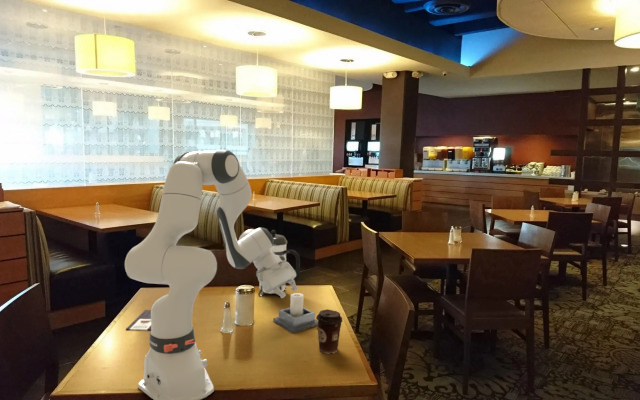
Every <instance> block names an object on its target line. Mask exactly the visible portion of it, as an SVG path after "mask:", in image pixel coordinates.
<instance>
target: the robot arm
mask: <svg viewBox="0 0 640 400" xmlns="http://www.w3.org/2000/svg"><path fill="white" fill-rule="evenodd" d="M213 185H214V187H215V189H216V191H217V194H218V196H219V197H218V198H219V204H218V205H219V206H218V208H217V210H216V217H217V221H218V224H219V228H220V229H219V230H220V232H221V233H220V234H221V235H222V240H223V244H224V248H225V254H226V258H227V261H228V263H229V264H230V265H231V267H233V268H234V269H238V270H244V269H247V268H248V266H250V265H251V264H252V263H253V264H254V267H255V268H256V269H257V270H256V272H255V273H256V274H255V275H256V277H257V280H258V282H259V285H260V284H261V286H262V287H263V289H264V290H265V291H266V292H267V293H266V294H270V293H269V292H271V291H272V290H273V291H274V294H275V295H279V296H280V297H279V296H278V297H279V298H281V299H284V298H285V297H286V296H287V294H286V292H285V291H281V290H280V288H279V287H280V286H282V285H284V284H285V283H287V282H288V283H289V284H288V285H290V287H291V288H290V289H291V290H292V291H293V292H296V291H298V289H299V288H298V286H297V285H296V283H295V281H294V279H295V277H296V269H294V268H293V266H292V265H291V264H290V263H289V261H287V257H286V258H285V257H284V256H279V255H275V254H274V253H273V252H272V251H271V250H270V249H271V248H272V247H273V243H274V238H273V236H272V235H271V231H269V230H268V228H265V227H258V228H255V229H254V228H250V229H247V230H245V231H244V232H242V233H241V234H240V236H239V238H238V239H237V235H236V232H235V223H236V221H237V220H238V217H239V216H240V215H241V214H242V212H244V210H245V209H246V208H247V207H248V205H249V204H250V201H252V200H251V199H252V195H253V193H252V188H251V185H250V182H249V180H248V178H247V175H246V174H245V172H244V170H243V167H242V166H241V165H240V163H239V159H238V158H237V156H236V154H234V153H233V152H232V151H231V150H228V149H223V148H222V149H209V150H207V149H202V150H195V151H191V152H190V151H189V152H187V151H186V152H183V153H181V154H179V155H178V156H176V158H175V159H174V161H173V164H172V165H171V166H170V168H169V169H168V173H167V175H166V178H165V181H164V185H163V188H162V194H161V200H160V204H159V210H158V214H157V217H156V221H155V223H154V225H153V226H152V229H151V231H150V232H149V233H148V235H147V236H146V237H145V238H144V239H143V240H142V241H141V242H140V243H138V244H137V245H135V246H133V247H132V248H131V249H130V250H129V251H128V252H127V254H126V257H125V260H124V269H125V272H126V275H127V277H128V278H129V279H132V280H133V281H134V280H135V281H138V282H142V283H145V284H156V285H168V286H169V292H168V293H167V294H165V295H163V296H161V297H159V298H158V299H156V301H155V302H154V303H153V304H152V306H151V309H150V310H151V331H150V332H149V336H148V338H149V339H148V341H149V350H148V351H147V353H146V354H145V355H144V360H143V361H144V363H143V364H144V365H143V378H142V379H141V380H140V381H139V382H138V385H137V388H138V389H139V390H141V391H142V392H143V393H144V394H146V395H147V396H148V397H150V398H151V399H153V400H203V399H205V398H207V397H208V396H209V395H211V394H212V393H213V392H214V391H215V388H214V387H215V386H214V384H213V382H212V379H211V378H210V376H209V373H208V372H207V369H206V368H207V367H208V365H209V364H208V360H207V358H205V359H203V358H202V357H201V355H202V350H201V349H198V345H197V342H196V335H195V332H194V327H193V309H194V303H195V301H196V297H197V296H198V294H199V292H200V291H201V290H202V289H203V288H204V287H205V286H207V285H208V284H210V282H211V281H212V280H213V279H214V278H215V276H216V274H217V269H218V262H217V258H216V256H215V254H214V253H213V252H212V251H211V250H210V249H209V250H208V249H205V248H202V247H198V246H192V245H189V246H187V245H177V243H178V241H179V240H180V239H181V238H182V237H183V236H184V235H186V234H189V233H191V232H192V231H194V230H195V228H197V225H199V218H200V213H201V212H200V210H201V205H202V198H203V197H202V195H203V186H213ZM285 285H286V284H285Z"/></svg>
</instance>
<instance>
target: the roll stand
mask: <svg viewBox="0 0 640 400" xmlns="http://www.w3.org/2000/svg"><path fill="white" fill-rule="evenodd" d="M315 314H316V313H315V312H314V311H313V310H310V309H309V308H306V307H305V306H303V315H301V316H297V317H293V316H291V315H290V307H286V308H282V309H278V317H274V318H273V319H272V322H274V323H275V324H277V325H278V326H280V327H282V328H283V329H284V330H286V331H288V332H289V333H291V334H295V333H299V332H301V331H304V329H305V330H308V329H311V328H314V327H313V326H315V327H317V326H316V325H318V320H317V319H316V315H315ZM310 327H311V328H310ZM307 328H308V329H307Z"/></svg>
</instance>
